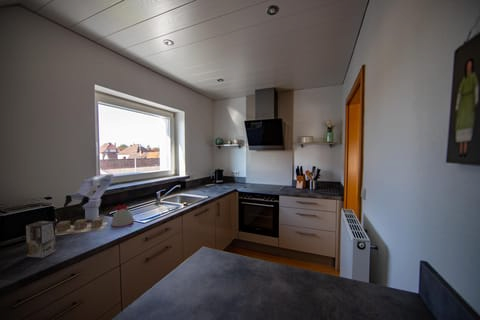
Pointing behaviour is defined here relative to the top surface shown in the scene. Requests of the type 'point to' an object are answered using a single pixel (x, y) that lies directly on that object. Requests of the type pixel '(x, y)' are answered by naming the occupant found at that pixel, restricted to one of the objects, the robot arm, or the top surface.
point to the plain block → (62, 226)
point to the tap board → (81, 229)
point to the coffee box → (40, 239)
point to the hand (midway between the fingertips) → (72, 206)
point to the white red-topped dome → (122, 217)
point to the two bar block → (96, 222)
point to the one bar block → (80, 224)
